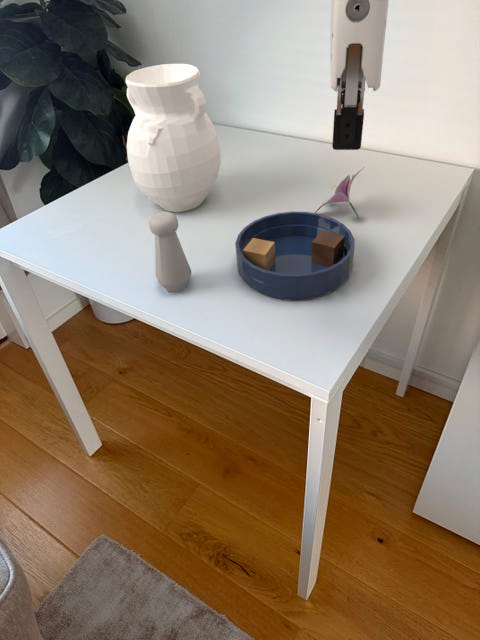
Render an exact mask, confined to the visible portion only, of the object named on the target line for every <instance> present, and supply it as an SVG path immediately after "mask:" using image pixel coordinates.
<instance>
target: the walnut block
mask: <svg viewBox="0 0 480 640" xmlns="http://www.w3.org/2000/svg"><path fill="white" fill-rule="evenodd" d="M344 240H345V236H343V235H339V234H335V233H331V232H328V231H324V230H323V231H322V232H321V233H320V234H319V235H318V236H317V237H316V238H315V239H314V240H313V241H312V260H311V262H314V263H317V264H321V265H324V266H328V267H331V266H333V265H335V264H337V263H338V262H339V260H340V259H341V258H342V257H343V251H344Z"/></svg>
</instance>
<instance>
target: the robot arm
mask: <svg viewBox="0 0 480 640" xmlns="http://www.w3.org/2000/svg"><path fill="white" fill-rule="evenodd" d="M389 2H390V1H389V0H330V21H329V22H330V23H329V26H330V27H329V64H330V65H329V66H330V84H331V85H330V87H331V89H332V90H333V91H335V92H337V97H336V98H337V99H336V109H334V113H333V126H332V127H333V128H332V129H333V131H332V144H331V145H332V146H331V147H332V149H333V150H334V151H358V150H360V149H361V148H362V140H363V129H364V121H365V120H364V119H365V109H364V101H365V99H364V98H365V91H366V86H367V89H372V92H376V91H378V90H379V89H380V88H381V82H382V70H383V61H384V60H383V59H384V50H385V40H386V33H387V32H386V31H387V22H388V11H389V10H388V9H389Z"/></svg>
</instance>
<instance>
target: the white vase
mask: <svg viewBox="0 0 480 640" xmlns="http://www.w3.org/2000/svg"><path fill="white" fill-rule="evenodd" d="M200 81H201V71H200V70H199V69H198V67H196V66H194V65H192V64H190V63H164V64H163V63H162V64H156V65H151V66H146V67H142V68H139V69H136V70H133V71H131V72H130V73H128V74H127V75H126V77H125V84H126V86H127V88H126V98H127V101H128V102H129V104H130V106H131V108H132V109H133V112H134V115H135V116H134V117H133V119H132V122H131V124H130V126H129V129H128V132H127V139H126V140H127V141H126V155H127V162H128V166H129V169H130V173H131V176H132V179H133V182H134V183H135V185H136V186H137V188H138V189H139V191H140V192H141V193H142V194H143V195H144V196H145V197H146V198H147V199H148V200H149V201H151V202H153V203H155V204H156V205H157V206H158V207H160V208H161V209H163V210H165V211H166V212H171V213H182V212H187V211H192V210H193V209H196V208H198V207H199V206H201V204H202V203H203V202H204V200H205V199H207V196H208V194H210V192H211V190H212V188H213V187H214V185H215V183H216V181H217V179H218V177H219V172H220V169H221V147H220V146H221V145H220V142H219V138H218V133H217V130H216V128H215V127H216V126H215V125H214V123H213V122H212V120H211V118H210V116H209V115H208V113H207V112H206V110H207V100H206V96H205V94H204V93H203V91H202V90H201V89H200V87H199V86H200Z"/></svg>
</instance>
